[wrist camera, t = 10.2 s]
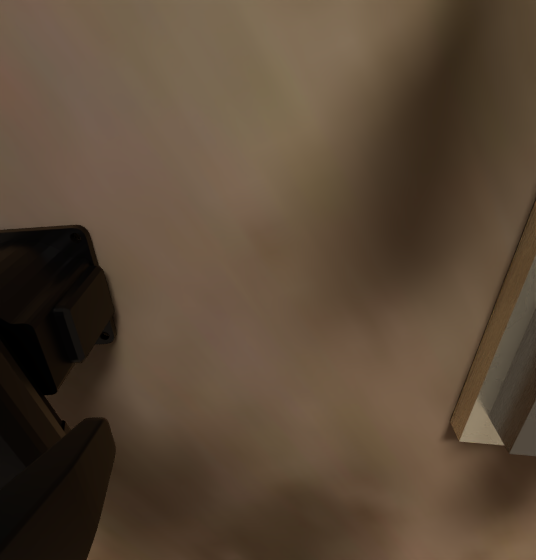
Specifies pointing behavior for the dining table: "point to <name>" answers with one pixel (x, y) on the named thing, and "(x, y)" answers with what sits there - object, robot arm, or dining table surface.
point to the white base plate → (506, 363)
